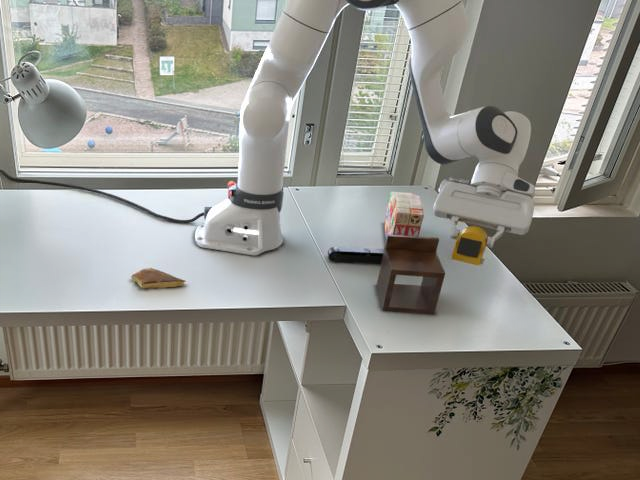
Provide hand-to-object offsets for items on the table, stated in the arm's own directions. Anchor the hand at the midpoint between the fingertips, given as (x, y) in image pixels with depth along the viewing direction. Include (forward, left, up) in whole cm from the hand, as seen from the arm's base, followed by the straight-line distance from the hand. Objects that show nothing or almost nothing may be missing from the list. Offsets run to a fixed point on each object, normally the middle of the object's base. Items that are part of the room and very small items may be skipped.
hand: (471, 242), depth 150 cm
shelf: (-13, -5, -12) cm, 19 cm away
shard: (-69, -5, -13) cm, 70 cm away
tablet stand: (-20, +12, -13) cm, 26 cm away
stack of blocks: (-10, +26, -13) cm, 30 cm away
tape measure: (0, +1, -4) cm, 4 cm away
